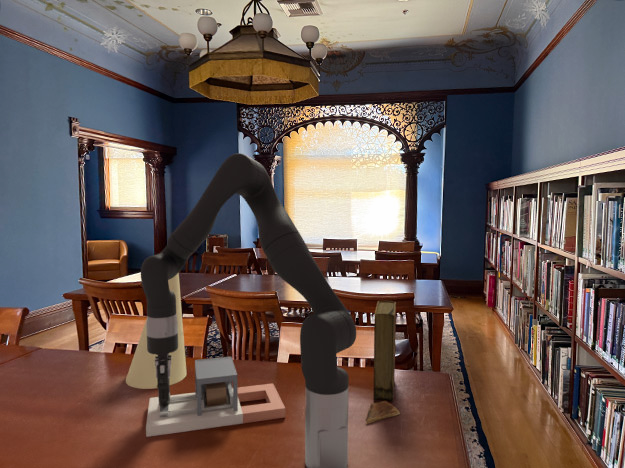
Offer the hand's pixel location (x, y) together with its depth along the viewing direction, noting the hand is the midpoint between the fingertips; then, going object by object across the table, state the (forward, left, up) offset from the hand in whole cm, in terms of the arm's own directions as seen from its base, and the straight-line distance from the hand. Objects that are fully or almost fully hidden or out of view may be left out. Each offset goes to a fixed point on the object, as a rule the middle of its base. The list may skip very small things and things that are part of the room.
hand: (164, 395), depth 116 cm
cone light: (+32, +2, -7) cm, 33 cm away
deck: (0, -13, -6) cm, 14 cm away
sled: (0, -8, -4) cm, 9 cm away
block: (0, -13, -4) cm, 14 cm away
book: (0, -62, -7) cm, 62 cm away
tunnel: (+1, -13, -4) cm, 14 cm away
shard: (-14, -55, -7) cm, 57 cm away
